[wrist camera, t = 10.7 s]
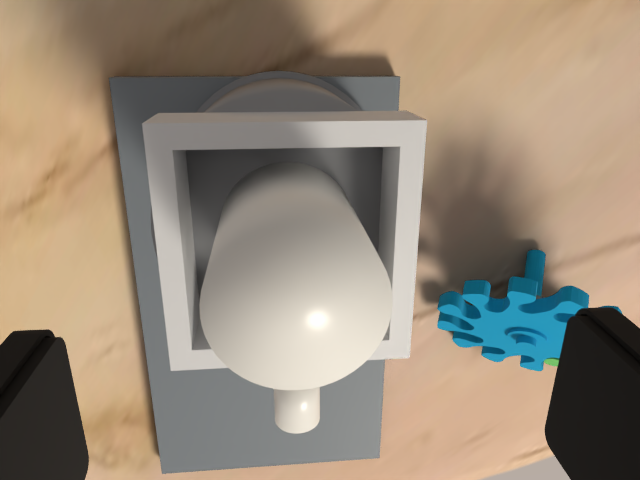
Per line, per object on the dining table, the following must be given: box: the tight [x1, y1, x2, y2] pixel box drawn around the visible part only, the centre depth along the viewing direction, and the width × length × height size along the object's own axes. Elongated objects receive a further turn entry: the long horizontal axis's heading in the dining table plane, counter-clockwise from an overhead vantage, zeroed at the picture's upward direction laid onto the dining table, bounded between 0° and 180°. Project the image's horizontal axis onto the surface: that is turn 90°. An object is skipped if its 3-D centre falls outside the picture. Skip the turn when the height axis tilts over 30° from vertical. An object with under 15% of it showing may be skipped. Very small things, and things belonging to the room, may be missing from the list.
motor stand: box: [109, 71, 427, 474], centre depth 25 cm, size 24×14×12 cm, turn 0°
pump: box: [199, 162, 393, 434], centre depth 17 cm, size 7×5×6 cm
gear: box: [437, 250, 622, 371], centre depth 30 cm, size 11×6×10 cm
